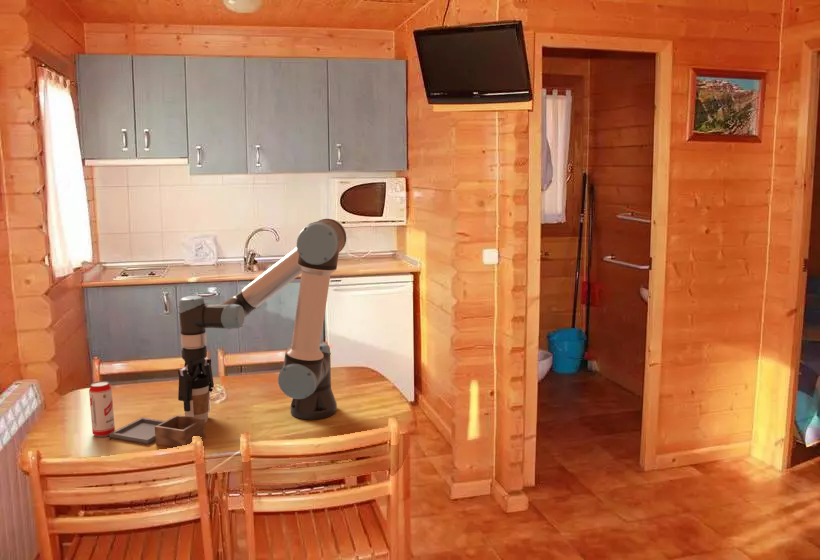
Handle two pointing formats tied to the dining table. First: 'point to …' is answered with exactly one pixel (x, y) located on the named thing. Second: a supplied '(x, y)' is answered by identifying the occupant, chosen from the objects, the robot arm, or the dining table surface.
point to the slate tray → (137, 431)
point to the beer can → (101, 408)
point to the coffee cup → (200, 397)
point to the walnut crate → (179, 431)
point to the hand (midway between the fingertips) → (197, 415)
